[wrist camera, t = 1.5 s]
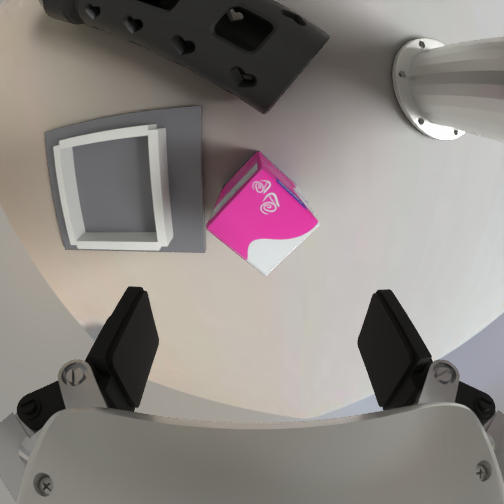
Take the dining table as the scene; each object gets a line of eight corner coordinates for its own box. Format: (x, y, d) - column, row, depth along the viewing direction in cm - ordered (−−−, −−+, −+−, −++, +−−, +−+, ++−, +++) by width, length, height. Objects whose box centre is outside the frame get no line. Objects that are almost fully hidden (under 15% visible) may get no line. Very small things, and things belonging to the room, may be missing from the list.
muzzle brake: (261, 117, 25) (264, 118, 16) (70, 23, 18) (16, 9, 9) (315, 50, 22) (346, 20, 12) (114, -36, 14) (73, -66, 5)
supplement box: (299, 184, 28) (324, 227, 18) (260, 222, 31) (263, 281, 20) (259, 147, 27) (261, 167, 16) (220, 188, 29) (201, 232, 19)
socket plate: (201, 106, 25) (194, 105, 21) (206, 248, 32) (201, 264, 29) (49, 131, 25) (32, 135, 21) (68, 246, 32) (55, 258, 29)
